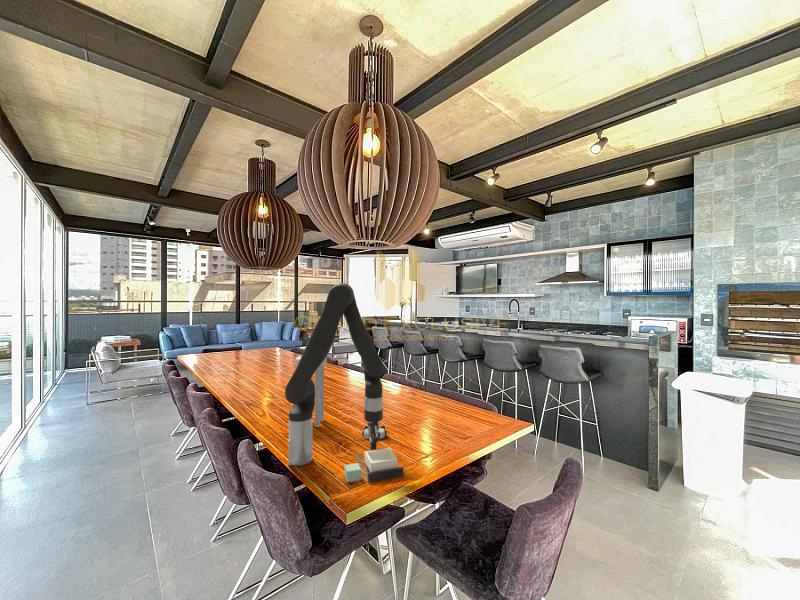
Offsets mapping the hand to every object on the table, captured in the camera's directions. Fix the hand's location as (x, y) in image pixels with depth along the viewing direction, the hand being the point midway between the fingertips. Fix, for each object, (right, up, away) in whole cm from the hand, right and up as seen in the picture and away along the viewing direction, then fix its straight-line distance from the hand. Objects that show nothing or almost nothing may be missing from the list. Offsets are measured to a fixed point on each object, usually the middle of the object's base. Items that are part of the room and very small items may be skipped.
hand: (373, 450), depth 134 cm
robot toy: (-1, -5, +25) cm, 26 cm away
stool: (-36, -5, +42) cm, 56 cm away
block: (-6, -4, -14) cm, 16 cm away
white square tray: (+4, -3, -9) cm, 10 cm away
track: (+2, -4, -5) cm, 7 cm away
